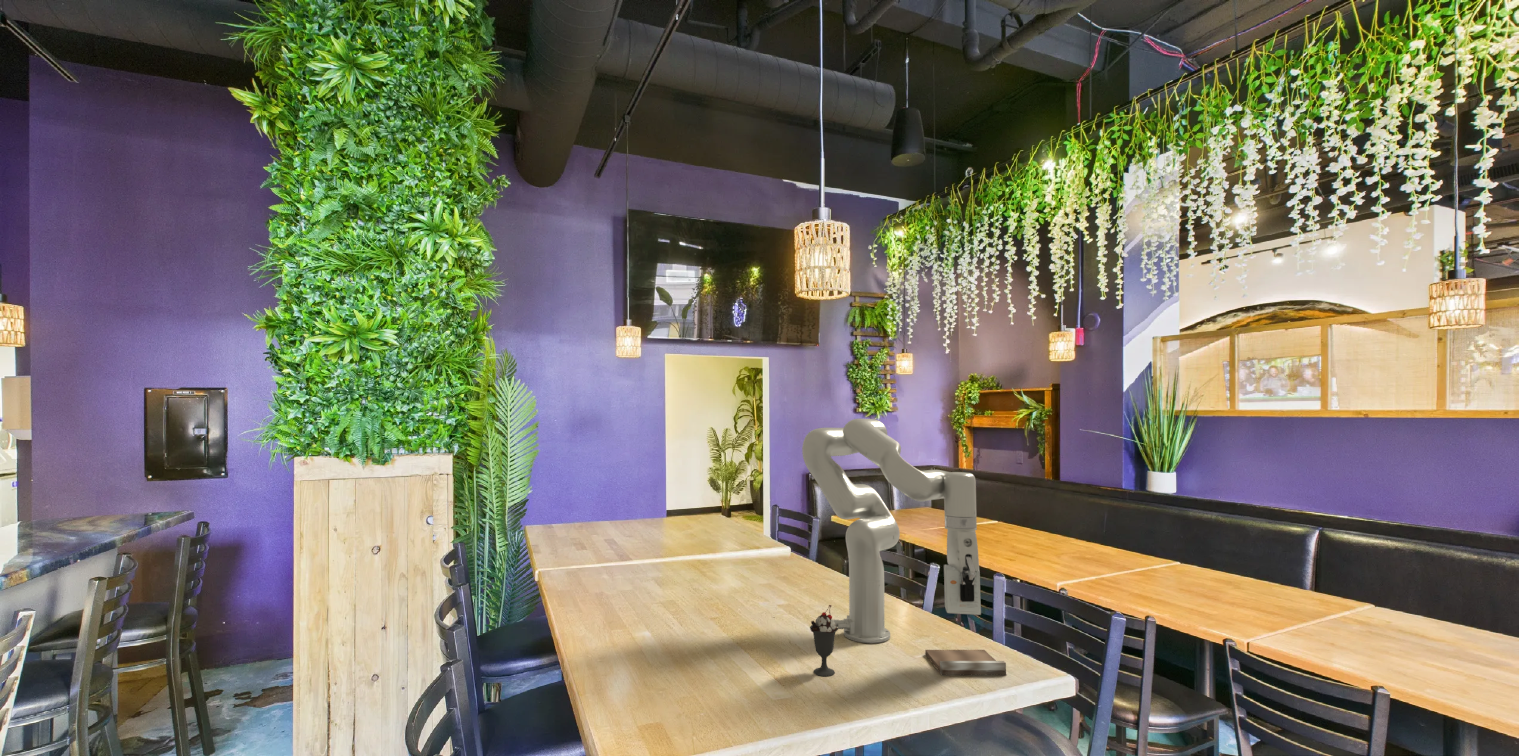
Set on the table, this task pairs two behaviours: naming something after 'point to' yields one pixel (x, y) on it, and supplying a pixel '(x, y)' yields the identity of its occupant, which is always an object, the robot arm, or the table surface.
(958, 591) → the small box
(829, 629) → the sundae
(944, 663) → the shelf board
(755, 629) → the table surface
